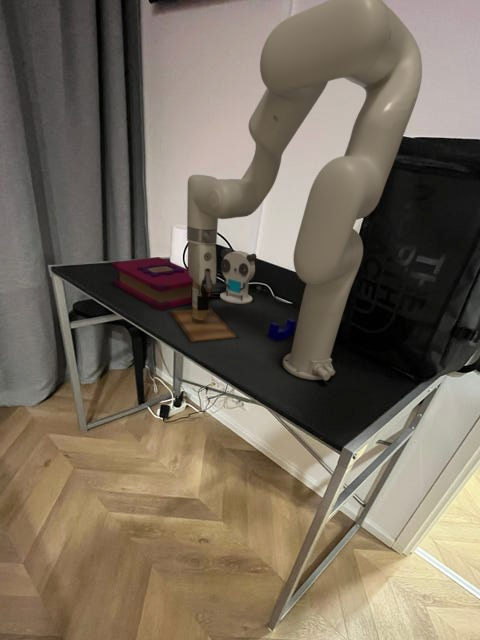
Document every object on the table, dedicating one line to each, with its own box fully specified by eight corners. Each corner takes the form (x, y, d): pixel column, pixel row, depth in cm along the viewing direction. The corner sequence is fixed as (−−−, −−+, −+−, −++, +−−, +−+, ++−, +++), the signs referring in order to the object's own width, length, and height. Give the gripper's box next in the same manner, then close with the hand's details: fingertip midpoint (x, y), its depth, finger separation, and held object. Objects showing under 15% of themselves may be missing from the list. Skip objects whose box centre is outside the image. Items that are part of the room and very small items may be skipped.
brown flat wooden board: (235, 337, 99) (236, 335, 98) (191, 341, 94) (191, 339, 93) (210, 310, 112) (210, 308, 112) (170, 313, 108) (170, 310, 107)
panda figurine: (212, 296, 122) (214, 249, 113) (229, 289, 130) (233, 245, 121) (241, 306, 118) (247, 258, 109) (257, 298, 126) (263, 252, 117)
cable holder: (275, 341, 100) (278, 327, 97) (268, 336, 102) (270, 322, 99) (296, 336, 104) (299, 323, 101) (288, 331, 106) (291, 318, 103)
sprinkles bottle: (210, 319, 102) (212, 270, 94) (196, 321, 100) (197, 271, 92) (202, 313, 105) (204, 265, 97) (188, 315, 103) (189, 266, 94)
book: (162, 275, 135) (161, 254, 130) (211, 299, 121) (212, 275, 116) (112, 283, 122) (109, 260, 117) (159, 310, 108) (158, 285, 103)
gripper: (228, 243, 85) (223, 317, 96) (204, 228, 96) (202, 295, 108) (198, 243, 82) (196, 319, 93) (178, 227, 94) (178, 296, 105)
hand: (199, 305), depth 100 cm, fingers closed on sprinkles bottle, 4 cm apart
